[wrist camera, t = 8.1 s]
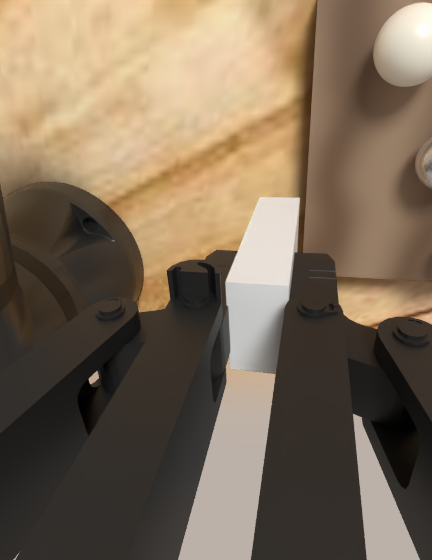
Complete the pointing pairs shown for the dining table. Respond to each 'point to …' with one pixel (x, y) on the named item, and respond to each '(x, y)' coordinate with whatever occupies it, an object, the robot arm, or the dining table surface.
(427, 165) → the steel ball
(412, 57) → the cream ball
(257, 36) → the dining table surface
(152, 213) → the dining table surface
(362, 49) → the board
